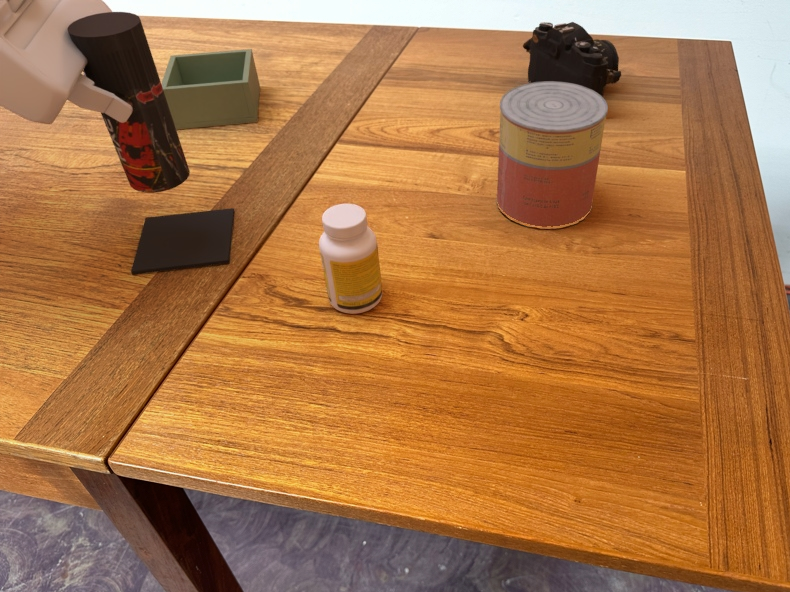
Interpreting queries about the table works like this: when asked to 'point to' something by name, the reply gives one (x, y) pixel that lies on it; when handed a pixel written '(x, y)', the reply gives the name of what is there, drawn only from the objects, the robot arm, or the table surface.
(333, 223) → the supplement bottle
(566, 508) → the table surface
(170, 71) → the bin
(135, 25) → the deodorant
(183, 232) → the pad
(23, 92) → the robot arm
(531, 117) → the canned food
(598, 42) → the film camera
